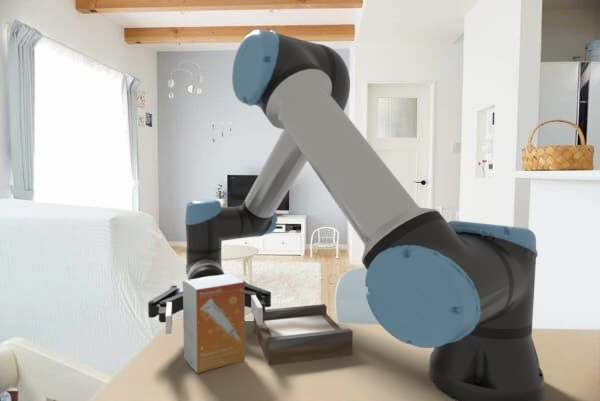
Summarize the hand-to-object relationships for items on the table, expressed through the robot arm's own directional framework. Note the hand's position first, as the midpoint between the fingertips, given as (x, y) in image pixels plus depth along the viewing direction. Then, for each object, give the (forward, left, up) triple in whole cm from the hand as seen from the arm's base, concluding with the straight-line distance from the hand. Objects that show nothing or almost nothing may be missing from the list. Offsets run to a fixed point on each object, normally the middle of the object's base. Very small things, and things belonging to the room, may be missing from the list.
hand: (215, 320), depth 63 cm
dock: (+6, -15, -8) cm, 18 cm away
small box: (+4, 0, -8) cm, 9 cm away
